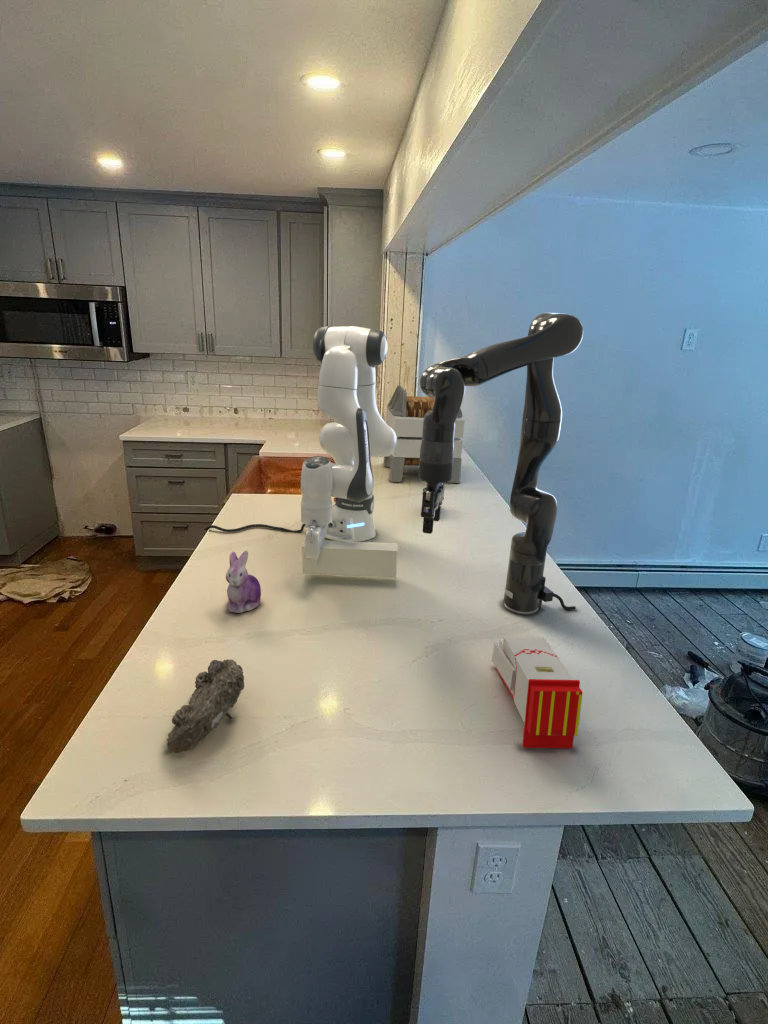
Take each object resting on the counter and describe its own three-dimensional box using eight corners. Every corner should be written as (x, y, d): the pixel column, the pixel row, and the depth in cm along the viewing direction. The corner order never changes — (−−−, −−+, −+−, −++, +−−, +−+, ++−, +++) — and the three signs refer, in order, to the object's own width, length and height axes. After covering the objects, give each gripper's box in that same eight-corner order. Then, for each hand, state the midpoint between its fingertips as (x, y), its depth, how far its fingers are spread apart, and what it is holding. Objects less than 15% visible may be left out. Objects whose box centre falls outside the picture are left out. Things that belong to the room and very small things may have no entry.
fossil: (192, 660, 117) (244, 628, 112) (224, 691, 120) (276, 661, 115) (142, 746, 98) (202, 712, 93) (182, 779, 101) (242, 748, 96)
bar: (302, 574, 162) (302, 546, 159) (305, 565, 167) (305, 539, 164) (395, 578, 162) (397, 550, 159) (395, 569, 167) (397, 543, 164)
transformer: (382, 463, 289) (386, 382, 275) (445, 464, 293) (451, 384, 279) (390, 482, 257) (394, 392, 243) (460, 483, 261) (468, 394, 247)
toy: (540, 620, 128) (592, 687, 99) (535, 674, 131) (584, 755, 102) (487, 619, 128) (523, 686, 99) (483, 673, 131) (517, 754, 101)
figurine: (230, 617, 142) (227, 563, 137) (221, 599, 150) (218, 547, 145) (267, 610, 146) (266, 557, 141) (256, 593, 154) (255, 542, 149)
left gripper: (323, 528, 149) (322, 576, 154) (331, 504, 168) (331, 546, 173) (299, 527, 149) (299, 575, 154) (310, 503, 168) (310, 545, 173)
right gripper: (447, 468, 119) (441, 539, 124) (458, 453, 131) (452, 518, 137) (412, 464, 120) (408, 535, 126) (426, 449, 133) (422, 514, 139)
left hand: (316, 559), depth 164 cm, fingers closed on bar, 5 cm apart
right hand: (431, 526), depth 131 cm, fingers open, 8 cm apart
